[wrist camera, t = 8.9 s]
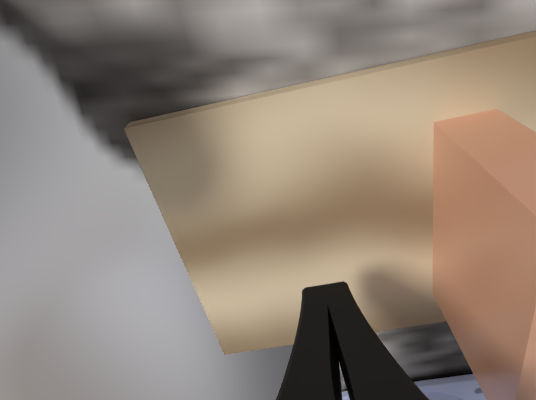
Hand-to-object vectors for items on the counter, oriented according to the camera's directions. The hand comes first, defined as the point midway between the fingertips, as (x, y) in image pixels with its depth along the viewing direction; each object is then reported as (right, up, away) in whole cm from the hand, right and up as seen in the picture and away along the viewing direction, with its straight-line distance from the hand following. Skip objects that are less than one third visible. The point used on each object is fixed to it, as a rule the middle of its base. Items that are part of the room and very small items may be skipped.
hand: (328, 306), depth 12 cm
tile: (+5, +3, +2) cm, 6 cm away
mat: (+3, +3, +3) cm, 5 cm away
